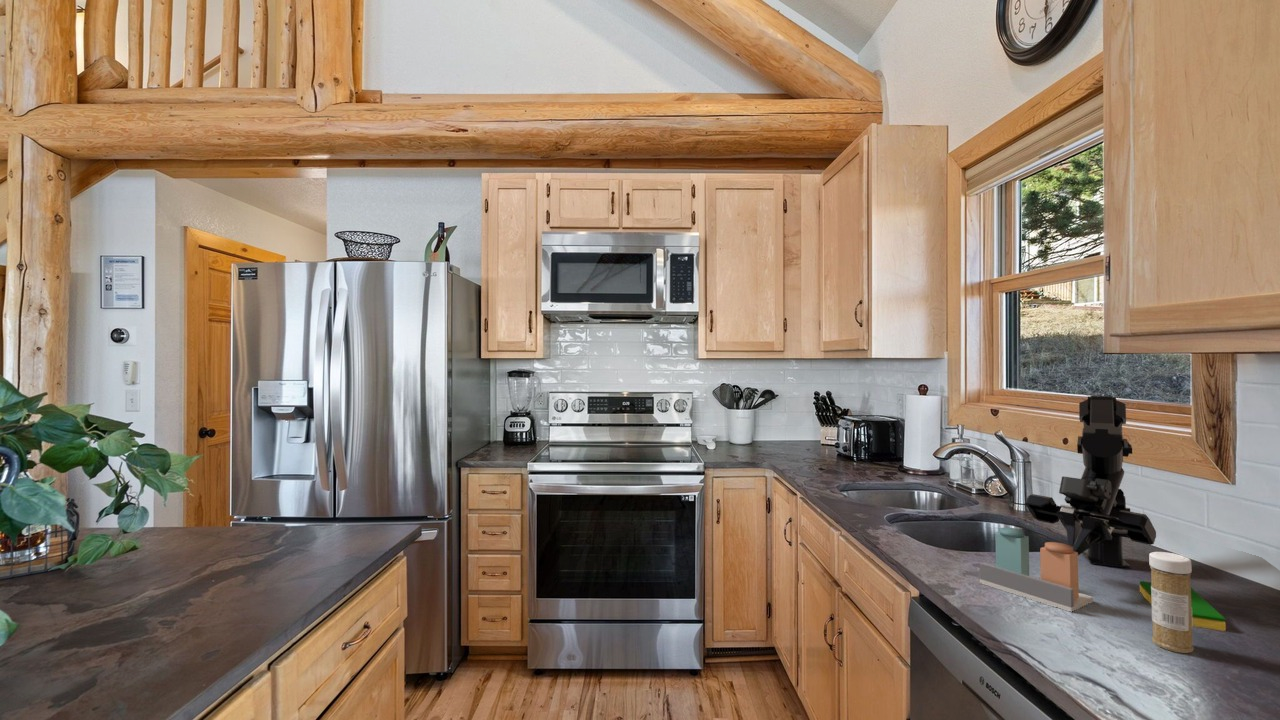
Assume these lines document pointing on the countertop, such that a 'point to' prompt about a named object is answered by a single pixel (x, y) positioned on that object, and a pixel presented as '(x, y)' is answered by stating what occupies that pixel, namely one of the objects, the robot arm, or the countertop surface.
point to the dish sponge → (1195, 609)
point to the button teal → (1012, 550)
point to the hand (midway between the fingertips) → (1071, 555)
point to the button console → (1032, 587)
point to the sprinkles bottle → (1171, 601)
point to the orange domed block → (1060, 565)
